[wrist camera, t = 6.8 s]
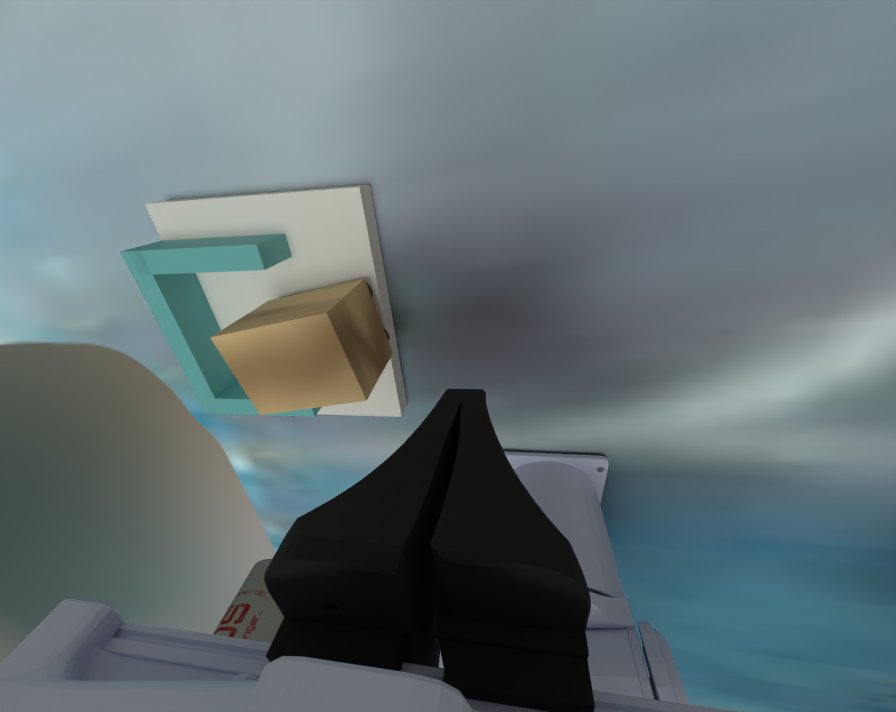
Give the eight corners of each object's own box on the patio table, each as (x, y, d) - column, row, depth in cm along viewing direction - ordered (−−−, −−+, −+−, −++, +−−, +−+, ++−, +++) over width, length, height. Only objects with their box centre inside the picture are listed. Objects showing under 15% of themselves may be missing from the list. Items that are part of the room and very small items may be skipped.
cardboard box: (396, 346, 21) (366, 400, 16) (310, 361, 22) (260, 415, 18) (369, 273, 19) (326, 312, 14) (275, 295, 20) (209, 337, 16)
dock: (406, 403, 25) (391, 443, 21) (254, 399, 27) (217, 435, 23) (369, 184, 18) (337, 192, 15) (168, 200, 20) (98, 210, 16)
